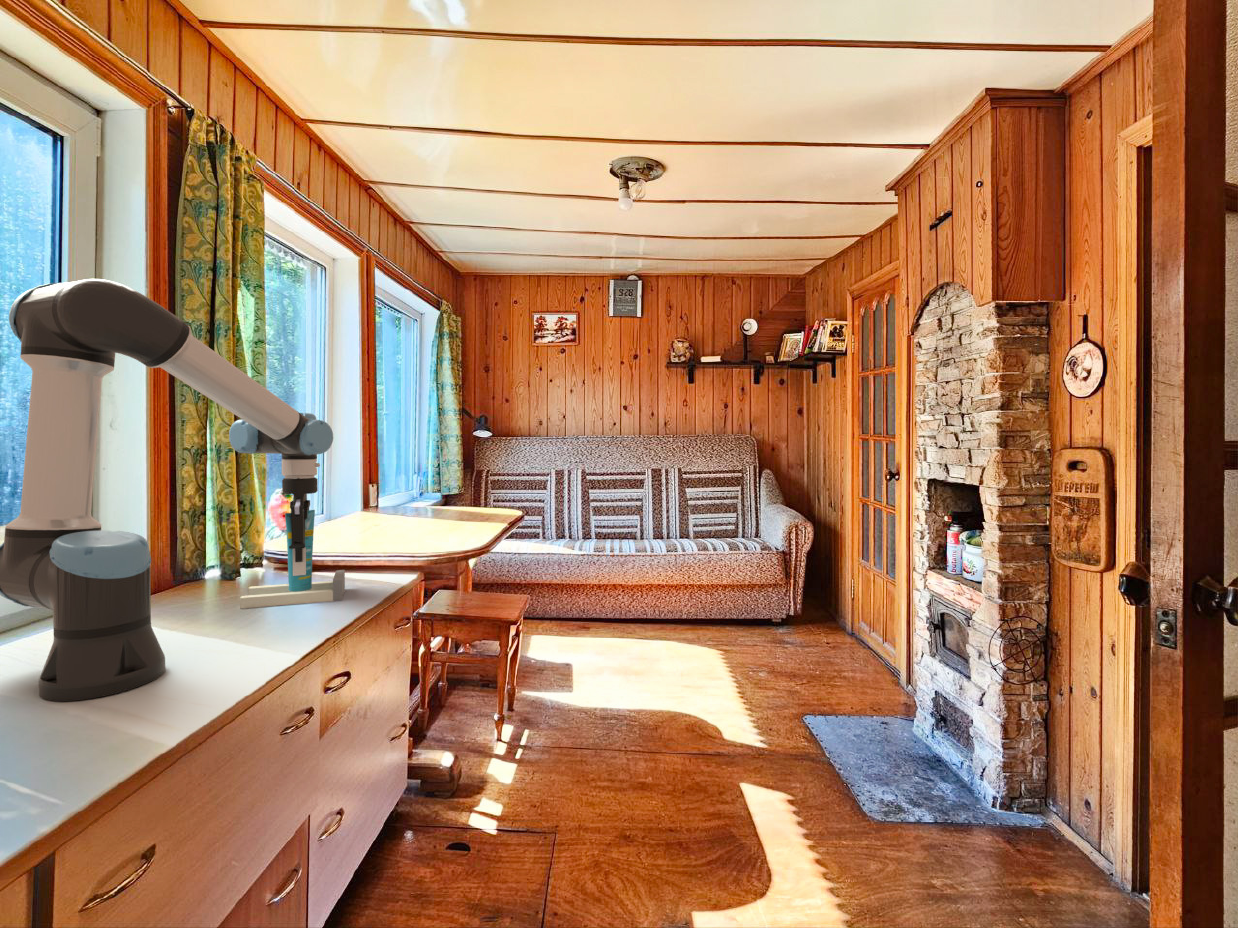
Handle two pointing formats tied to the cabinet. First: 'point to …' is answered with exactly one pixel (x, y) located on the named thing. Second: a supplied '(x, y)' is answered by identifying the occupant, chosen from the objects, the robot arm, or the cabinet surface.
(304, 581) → the tube
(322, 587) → the track
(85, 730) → the cabinet surface
